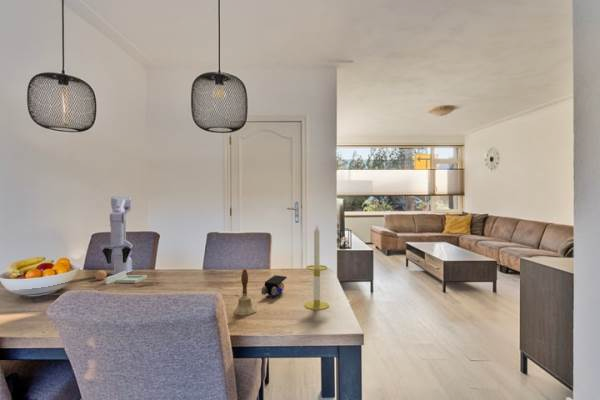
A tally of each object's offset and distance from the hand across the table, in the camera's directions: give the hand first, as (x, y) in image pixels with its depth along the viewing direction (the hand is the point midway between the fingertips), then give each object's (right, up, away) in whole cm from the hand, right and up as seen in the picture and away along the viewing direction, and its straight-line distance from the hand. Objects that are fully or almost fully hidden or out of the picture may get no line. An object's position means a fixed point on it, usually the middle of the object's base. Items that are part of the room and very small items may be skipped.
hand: (116, 263), depth 163 cm
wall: (-5, -11, +8) cm, 14 cm away
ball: (-14, -11, +9) cm, 19 cm away
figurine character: (+81, -11, -19) cm, 84 cm away
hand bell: (+71, -11, -40) cm, 82 cm away
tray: (+3, -11, +8) cm, 14 cm away
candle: (+99, -11, -33) cm, 105 cm away
